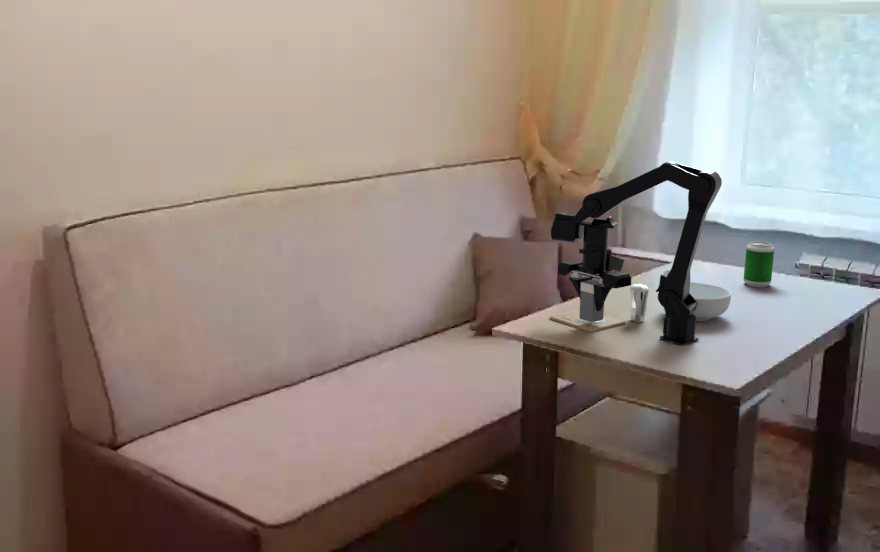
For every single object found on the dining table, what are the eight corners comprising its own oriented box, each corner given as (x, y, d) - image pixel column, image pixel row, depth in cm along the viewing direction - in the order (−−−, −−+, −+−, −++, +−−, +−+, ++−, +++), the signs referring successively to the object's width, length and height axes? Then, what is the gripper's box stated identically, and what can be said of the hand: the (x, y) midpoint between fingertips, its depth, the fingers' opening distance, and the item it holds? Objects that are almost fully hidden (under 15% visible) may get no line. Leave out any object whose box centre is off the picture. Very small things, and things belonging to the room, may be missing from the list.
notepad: (625, 323, 234) (625, 321, 233) (591, 332, 226) (591, 329, 226) (583, 311, 244) (583, 308, 244) (549, 318, 237) (549, 316, 237)
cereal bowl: (708, 330, 229) (711, 302, 227) (647, 317, 240) (649, 289, 238) (740, 316, 241) (743, 289, 240) (681, 304, 252) (683, 278, 250)
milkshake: (650, 323, 234) (652, 283, 232) (627, 322, 235) (630, 282, 233) (650, 318, 238) (652, 279, 236) (628, 317, 239) (630, 278, 237)
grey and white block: (603, 319, 230) (605, 283, 228) (591, 322, 227) (593, 285, 225) (590, 315, 233) (592, 279, 231) (579, 318, 230) (580, 282, 228)
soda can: (774, 288, 270) (778, 246, 267) (747, 287, 270) (751, 246, 267) (765, 281, 277) (769, 241, 275) (739, 281, 277) (743, 240, 275)
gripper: (648, 247, 224) (644, 312, 227) (589, 234, 238) (586, 295, 242) (616, 253, 217) (613, 319, 221) (557, 239, 231) (554, 302, 235)
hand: (591, 308), depth 230 cm, fingers closed on grey and white block, 4 cm apart
